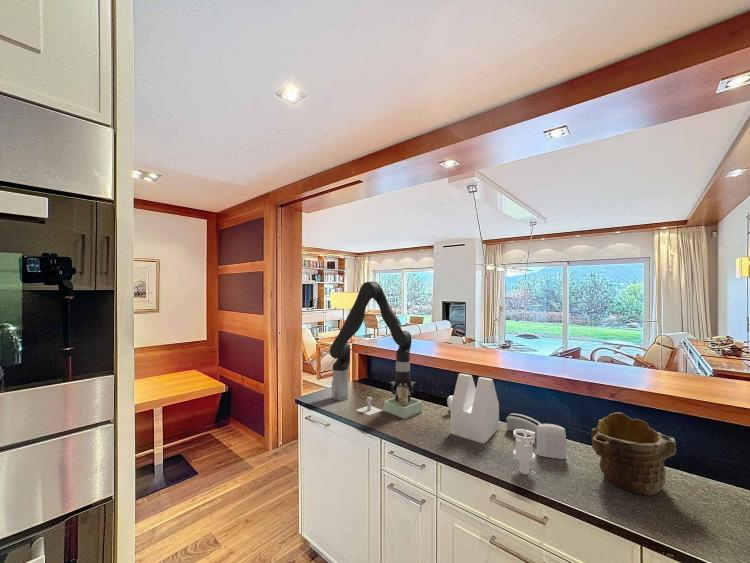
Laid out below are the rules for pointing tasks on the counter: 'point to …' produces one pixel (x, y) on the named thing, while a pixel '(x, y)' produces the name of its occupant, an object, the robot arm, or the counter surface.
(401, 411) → the bin
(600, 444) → the ceramic vessel
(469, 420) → the white notched block
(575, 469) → the counter surface
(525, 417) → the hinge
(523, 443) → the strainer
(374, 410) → the stud base
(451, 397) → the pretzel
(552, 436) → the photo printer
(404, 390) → the strut
